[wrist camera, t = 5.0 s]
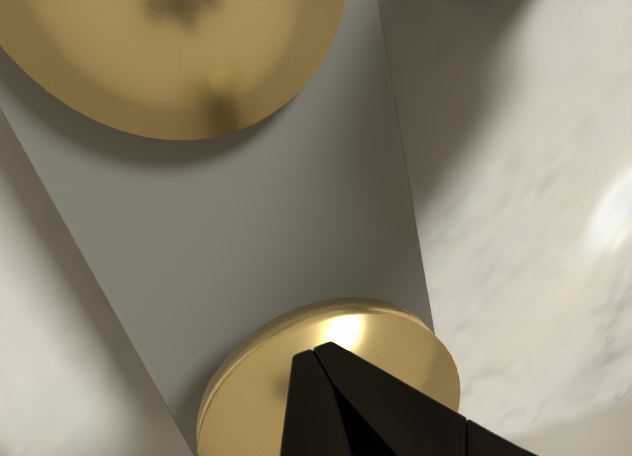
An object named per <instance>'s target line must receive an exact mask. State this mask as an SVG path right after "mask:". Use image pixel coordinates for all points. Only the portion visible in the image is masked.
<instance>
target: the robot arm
mask: <svg viewBox="0 0 632 456" xmlns="http://www.w3.org/2000/svg"><path fill="white" fill-rule="evenodd" d="M279 456H538V455H536V454H534V453H532V452H530V451H528V450H525V449H523V448H521V447H519V446H517V445H515V444H513V443H512V442H510V441H508V440H506V439H504V438H502V437H500V436H499V435H497V434H495V433H493V432H491V431H489V430H487V429H486V428H484V427H482V426H480V425H479V424H477V423H475V422H473V421H472V420H467V419H466V417H464V416H463V415H461V414H459V413H457V412H456V411H454V410H452V409H450V408H449V407H447V406H445V405H443V404H442V403H440V402H438V401H436V400H435V399H433V398H431V397H429V396H428V395H426V394H424V393H422V392H421V391H419V390H417V389H415V388H414V387H412V386H410V385H408V384H407V383H405V382H403V381H401V380H400V379H398V378H396V377H394V376H393V375H391V374H389V373H387V372H386V371H384V370H382V369H380V368H379V367H377V366H375V365H373V364H372V363H370V362H368V361H366V360H365V359H363V358H361V357H359V356H358V355H356V354H354V353H352V352H351V351H349V350H347V349H345V348H344V347H342V346H340V345H338V344H337V343H335V342H333V341H328V342H326V343H323V344H321V345H318V346H316V347H314V349H313V350H311V349H308V350H305V351H302V352H300V353H297V354H295V355H294V356H293V357H292V363H291V370H290V378H289V386H288V393H287V401H286V409H285V417H284V424H283V432H282V440H281V447H280V455H279Z"/></svg>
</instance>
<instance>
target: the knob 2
mask: <svg viewBox="0 0 632 456" xmlns="http://www.w3.org/2000/svg"><path fill="white" fill-rule="evenodd" d="M328 341H333V342H335V343H337V344H338V345H340V346H342V347H344V348H345V349H347V350H349V351H351V352H352V353H354V354H356V355H358V356H359V357H361V358H363V359H365V360H366V361H368V362H370V363H372V364H373V365H375V366H377V367H379V368H380V369H382V370H384V371H386V372H387V373H389V374H391V375H393V376H394V377H396V378H398V379H400V380H401V381H403V382H405V383H407V384H408V385H410V386H412V387H414V388H415V389H417V390H419V391H421V392H422V393H424V394H426V395H428V396H429V397H431V398H433V399H435V400H436V401H438V402H440V403H442V404H443V405H445V406H447V407H449V408H450V409H452V410H454V411H456V412H457V413H458V408H459V402H460V381H459V376H458V372H457V367H456V365H455V363H454V361H453V358H452V356H451V355H450V353H449V352H448V350H447V349H446V347H445V346H444V345H443V343H442V342H441V341H440V340H439V339H438V338H437V337H436V336H435V335H434V334H433V333H432V332H431V331H430V329H429V328H428V327H427V326H426V325H425V324H424V323H423V322H422V321H421V320H420V319H419V318H418V317H416V316H415V315H413V314H412V313H411V312H409V311H408V310H406V309H404V308H402V307H400V306H398V305H396V304H393V303H389V302H386V301H383V300H379V299H373V298H366V297H342V298H332V299H327V300H322V301H318V302H313V303H310V304H307V305H304V306H301V307H298V308H295V309H293V310H291V311H289V312H286V313H284V314H282V315H280V316H278V317H276V318H274V319H273V320H271V321H269V322H268V323H266V324H264V325H263V326H261V327H260V328H258V329H257V330H256V331H254V332H253V333H252V334H250V335H249V336H248V337H247V338H245V339H244V340H243V341H242V342H241V343H240V344H239V345H238V346H237V347H236V348H235V349H234V350H233V351H232V352H231V353H230V354H229V355H228V356H227V357H226V359H225V360H224V361H223V362H222V364H221V365H220V366H219V367H218V369H217V371H216V372H215V374H214V375H213V377H212V378H211V380H210V382H209V384H208V386H207V388H206V390H205V393H204V395H203V397H202V400H201V404H200V407H199V411H198V417H197V424H196V434H197V453H198V456H279V455H280V447H281V440H282V432H283V424H284V417H285V409H286V401H287V393H288V386H289V378H290V370H291V363H292V357H293V356H294V355H295V354H297V353H300V352H302V351H305V350H308V349H311V350H313V349H314V347H316V346H318V345H321V344H323V343H326V342H328Z"/></svg>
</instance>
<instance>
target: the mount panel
mask: <svg viewBox="0 0 632 456" xmlns="http://www.w3.org/2000/svg"><path fill="white" fill-rule="evenodd" d="M0 108H1V110H2V112H3V114H4V115H5V117H6V119H7V121H8V123H9V124H10V126H11V128H12V130H13V132H14V133H15V135H16V137H17V139H18V141H19V142H20V144H21V146H22V148H23V149H24V151H25V153H26V155H27V157H28V158H29V160H30V162H31V164H32V166H33V167H34V169H35V171H36V173H37V175H38V176H39V178H40V180H41V182H42V184H43V185H44V187H45V189H46V191H47V193H48V194H49V196H50V198H51V200H52V201H53V203H54V205H55V207H56V209H57V210H58V212H59V214H60V216H61V218H62V219H63V221H64V223H65V225H66V227H67V228H68V230H69V232H70V234H71V236H72V237H73V239H74V241H75V243H76V244H77V246H78V248H79V250H80V252H81V253H82V255H83V257H84V259H85V261H86V262H87V264H88V266H89V268H90V270H91V271H92V273H93V275H94V277H95V279H96V280H97V282H98V284H99V286H100V288H101V289H102V291H103V293H104V295H105V296H106V298H107V300H108V302H109V304H110V305H111V307H112V309H113V311H114V313H115V314H116V316H117V318H118V320H119V322H120V323H121V325H122V327H123V329H124V331H125V332H126V334H127V336H128V338H129V339H130V341H131V343H132V345H133V347H134V348H135V350H136V352H137V354H138V356H139V357H140V359H141V361H142V363H143V365H144V366H145V368H146V370H147V372H148V374H149V375H150V377H151V379H152V381H153V383H154V384H155V386H156V388H157V390H158V391H159V393H160V395H161V397H162V399H163V400H164V402H165V404H166V406H167V408H168V409H169V411H170V413H171V415H172V417H173V418H174V420H175V422H176V424H177V426H178V427H179V429H180V431H181V433H182V434H183V436H184V438H185V440H186V442H187V443H188V445H189V447H190V449H191V451H192V452H193V454H194V456H198V453H197V434H196V424H197V417H198V411H199V407H200V404H201V400H202V397H203V395H204V393H205V390H206V388H207V386H208V384H209V382H210V380H211V378H212V377H213V375H214V374H215V372H216V371H217V369H218V367H219V366H220V365H221V364H222V362H223V361H224V360H225V359H226V357H227V356H228V355H229V354H230V353H231V352H232V351H233V350H234V349H235V348H236V347H237V346H238V345H239V344H240V343H241V342H242V341H243V340H244V339H245V338H247V337H248V336H249V335H250V334H252V333H253V332H254V331H256V330H257V329H258V328H260V327H261V326H263V325H264V324H266V323H268V322H269V321H271V320H273V319H274V318H276V317H278V316H280V315H282V314H284V313H286V312H289V311H291V310H293V309H295V308H298V307H301V306H304V305H307V304H310V303H313V302H318V301H322V300H327V299H332V298H342V297H366V298H373V299H379V300H383V301H386V302H389V303H393V304H396V305H398V306H400V307H402V308H404V309H406V310H408V311H409V312H411V313H412V314H413V315H415V316H416V317H418V318H419V319H420V320H421V321H422V322H423V323H424V324H425V325H426V326H427V327H428V328H429V329H430V331H431V332H432V333H433V334H434V335H435V333H434V327H433V321H432V315H431V309H430V303H429V298H428V292H427V286H426V280H425V274H424V268H423V263H422V257H421V251H420V245H419V239H418V233H417V227H416V222H415V216H414V210H413V204H412V198H411V192H410V186H409V181H408V175H407V169H406V163H405V157H404V151H403V146H402V140H401V134H400V128H399V122H398V116H397V110H396V105H395V99H394V93H393V87H392V81H391V75H390V70H389V64H388V58H387V52H386V46H385V40H384V34H383V29H382V23H381V17H380V11H379V5H378V0H345V4H344V9H343V12H342V15H341V18H340V22H339V25H338V28H337V31H336V33H335V36H334V38H333V40H332V42H331V45H330V47H329V49H328V51H327V53H326V55H325V56H324V58H323V60H322V61H321V63H320V65H319V66H318V68H317V70H316V71H315V72H314V74H313V75H312V76H311V77H310V79H309V80H308V81H307V83H306V84H305V85H304V86H303V88H302V89H301V90H299V91H298V92H297V93H296V94H295V95H294V96H293V97H292V98H291V99H290V100H289V101H288V102H287V103H286V104H284V105H283V106H282V107H280V108H279V109H278V110H276V111H275V112H274V113H272V114H271V115H269V116H268V117H266V118H264V119H262V120H260V121H259V122H257V123H255V124H253V125H251V126H248V127H246V128H243V129H241V130H238V131H236V132H233V133H229V134H225V135H221V136H217V137H213V138H206V139H197V140H164V139H157V138H150V137H143V136H139V135H136V134H132V133H128V132H124V131H120V130H118V129H115V128H113V127H110V126H108V125H105V124H102V123H100V122H97V121H95V120H93V119H91V118H89V117H88V116H86V115H84V114H82V113H80V112H78V111H76V110H74V109H72V108H71V107H69V106H68V105H66V104H65V103H63V102H62V101H61V100H59V99H58V98H56V97H55V96H53V95H52V94H50V93H49V92H47V91H46V90H45V89H44V88H43V87H42V86H40V85H39V84H38V83H37V82H36V81H35V80H33V79H32V78H31V77H30V76H29V75H27V74H26V73H25V72H24V71H23V70H22V69H21V67H20V66H19V65H18V64H17V63H16V62H15V61H14V60H13V59H12V58H11V57H10V56H9V55H8V54H7V53H6V52H5V51H4V49H3V48H2V47H1V45H0Z"/></svg>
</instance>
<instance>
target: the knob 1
mask: <svg viewBox="0 0 632 456" xmlns="http://www.w3.org/2000/svg"><path fill="white" fill-rule="evenodd" d="M344 4H345V0H0V45H1V47H2V48H3V49H4V51H5V52H6V53H7V54H8V55H9V56H10V57H11V58H12V59H13V60H14V61H15V62H16V63H17V64H18V65H19V66H20V67H21V69H22V70H23V71H24V72H25V73H26V74H27V75H29V76H30V77H31V78H32V79H33V80H35V81H36V82H37V83H38V84H39V85H40V86H42V87H43V88H44V89H45V90H46V91H47V92H49V93H50V94H52V95H53V96H55V97H56V98H58V99H59V100H61V101H62V102H63V103H65V104H66V105H68V106H69V107H71V108H72V109H74V110H76V111H78V112H80V113H82V114H84V115H86V116H88V117H89V118H91V119H93V120H95V121H97V122H100V123H102V124H105V125H108V126H110V127H113V128H115V129H118V130H120V131H124V132H128V133H132V134H136V135H139V136H143V137H150V138H157V139H164V140H197V139H206V138H213V137H217V136H221V135H225V134H229V133H233V132H236V131H238V130H241V129H243V128H246V127H248V126H251V125H253V124H255V123H257V122H259V121H260V120H262V119H264V118H266V117H268V116H269V115H271V114H272V113H274V112H275V111H276V110H278V109H279V108H280V107H282V106H283V105H284V104H286V103H287V102H288V101H289V100H290V99H291V98H292V97H293V96H294V95H295V94H296V93H297V92H298V91H299V90H301V89H302V88H303V86H304V85H305V84H306V83H307V81H308V80H309V79H310V77H311V76H312V75H313V74H314V72H315V71H316V70H317V68H318V66H319V65H320V63H321V61H322V60H323V58H324V56H325V55H326V53H327V51H328V49H329V47H330V45H331V42H332V40H333V38H334V36H335V33H336V31H337V28H338V25H339V22H340V18H341V15H342V12H343V9H344Z"/></svg>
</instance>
